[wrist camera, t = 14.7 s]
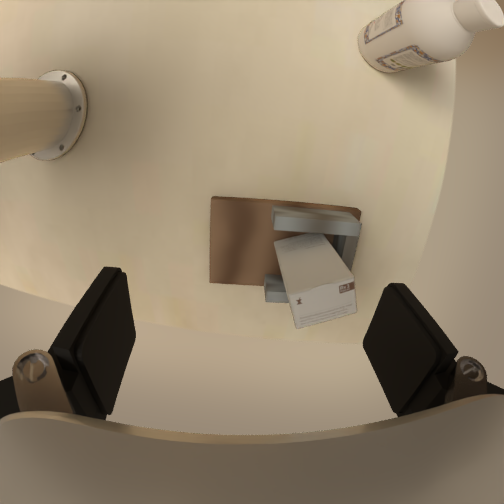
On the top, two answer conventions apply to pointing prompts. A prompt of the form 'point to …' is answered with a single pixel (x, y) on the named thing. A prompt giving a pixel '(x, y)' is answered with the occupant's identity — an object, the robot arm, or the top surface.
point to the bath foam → (425, 32)
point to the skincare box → (315, 279)
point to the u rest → (271, 238)
